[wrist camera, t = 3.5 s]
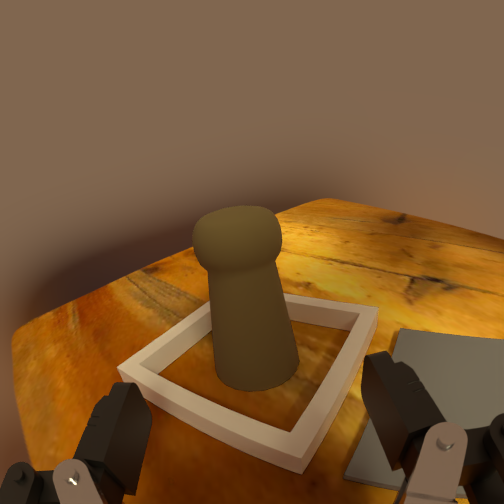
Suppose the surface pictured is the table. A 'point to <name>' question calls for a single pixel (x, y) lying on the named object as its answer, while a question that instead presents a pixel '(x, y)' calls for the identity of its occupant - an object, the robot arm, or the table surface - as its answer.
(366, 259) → the table surface
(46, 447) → the table surface
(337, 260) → the table surface
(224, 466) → the table surface
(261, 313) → the cork
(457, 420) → the mat
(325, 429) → the white square frame
